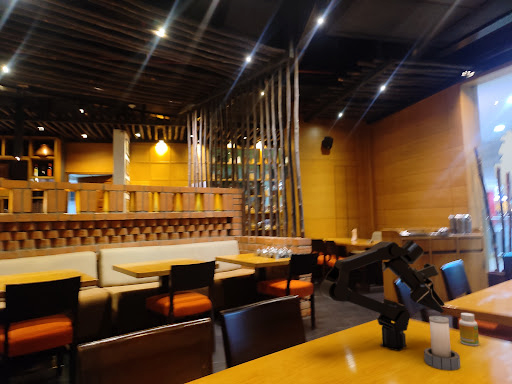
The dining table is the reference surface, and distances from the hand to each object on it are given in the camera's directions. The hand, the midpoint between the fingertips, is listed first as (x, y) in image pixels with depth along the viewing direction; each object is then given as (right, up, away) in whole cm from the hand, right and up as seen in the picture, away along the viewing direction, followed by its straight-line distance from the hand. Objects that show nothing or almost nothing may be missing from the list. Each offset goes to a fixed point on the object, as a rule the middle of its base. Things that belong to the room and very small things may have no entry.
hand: (443, 308), depth 109 cm
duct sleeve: (-6, -13, -10) cm, 17 cm away
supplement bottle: (+12, -14, +6) cm, 20 cm away
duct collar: (-6, -13, -10) cm, 17 cm away
